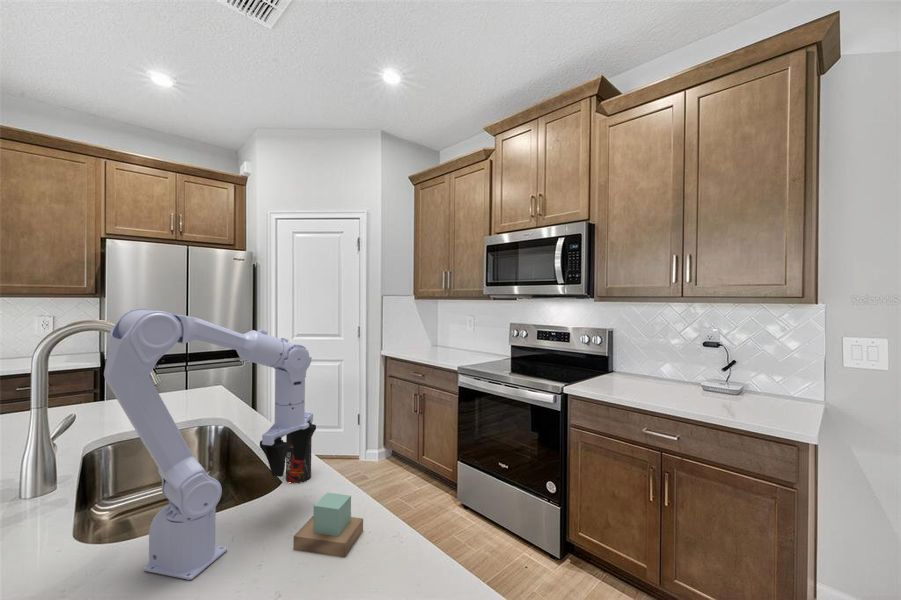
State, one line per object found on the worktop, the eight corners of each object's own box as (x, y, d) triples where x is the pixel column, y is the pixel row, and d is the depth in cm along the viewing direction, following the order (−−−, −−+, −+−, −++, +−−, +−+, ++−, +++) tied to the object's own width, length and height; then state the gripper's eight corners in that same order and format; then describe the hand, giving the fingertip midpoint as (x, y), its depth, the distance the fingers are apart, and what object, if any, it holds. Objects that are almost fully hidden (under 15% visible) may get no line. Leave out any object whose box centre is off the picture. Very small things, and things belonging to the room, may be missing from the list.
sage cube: (313, 532, 74) (313, 505, 74) (327, 517, 79) (327, 492, 79) (338, 536, 73) (338, 509, 73) (350, 521, 78) (351, 495, 78)
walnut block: (293, 552, 73) (293, 536, 73) (315, 527, 81) (316, 512, 81) (345, 560, 71) (345, 543, 71) (362, 533, 79) (363, 518, 79)
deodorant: (315, 474, 103) (316, 416, 102) (301, 485, 97) (302, 423, 96) (295, 471, 104) (296, 413, 104) (280, 481, 98) (281, 420, 98)
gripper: (285, 413, 75) (285, 486, 75) (325, 394, 89) (325, 455, 89) (252, 410, 76) (251, 481, 76) (297, 392, 90) (296, 452, 91)
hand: (289, 467), depth 83 cm, fingers open, 7 cm apart
